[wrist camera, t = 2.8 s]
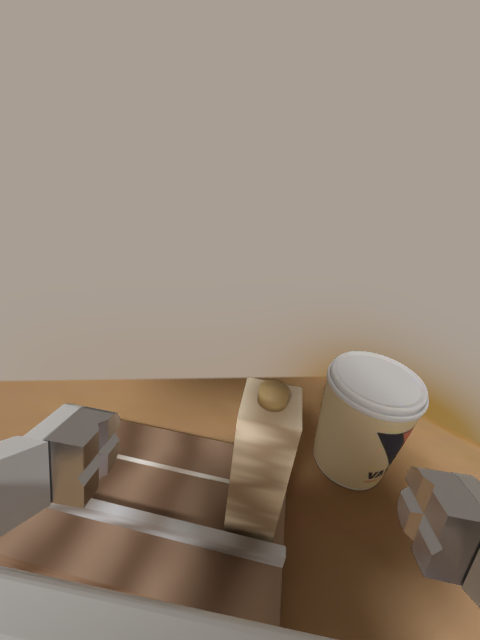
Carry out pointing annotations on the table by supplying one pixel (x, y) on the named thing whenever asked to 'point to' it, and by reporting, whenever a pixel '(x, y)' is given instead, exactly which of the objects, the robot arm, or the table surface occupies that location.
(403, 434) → the coffee cup
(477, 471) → the table surface
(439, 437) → the table surface
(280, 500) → the beige tall block
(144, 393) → the table surface
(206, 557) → the board
